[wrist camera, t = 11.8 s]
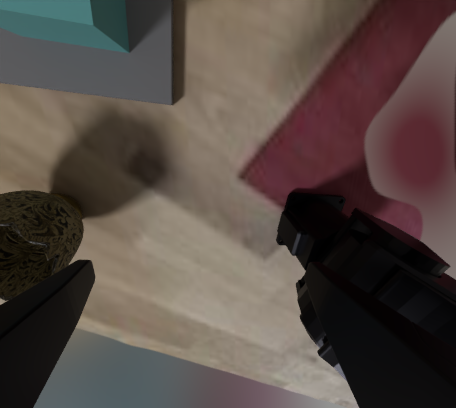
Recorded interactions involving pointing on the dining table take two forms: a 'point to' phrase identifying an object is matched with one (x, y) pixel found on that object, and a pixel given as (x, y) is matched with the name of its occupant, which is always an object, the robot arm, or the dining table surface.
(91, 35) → the teal block with hole
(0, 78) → the post stand
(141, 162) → the dining table surface
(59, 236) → the cup
